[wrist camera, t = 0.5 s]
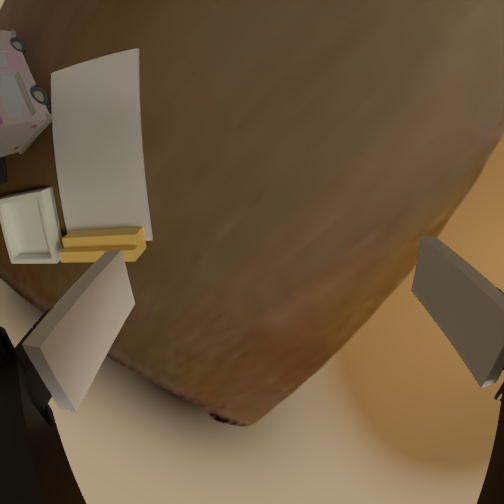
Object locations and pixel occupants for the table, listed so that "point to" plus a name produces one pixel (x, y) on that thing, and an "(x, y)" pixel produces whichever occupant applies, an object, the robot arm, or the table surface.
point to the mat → (100, 144)
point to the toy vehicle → (19, 98)
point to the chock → (102, 244)
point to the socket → (2, 170)
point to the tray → (31, 226)
